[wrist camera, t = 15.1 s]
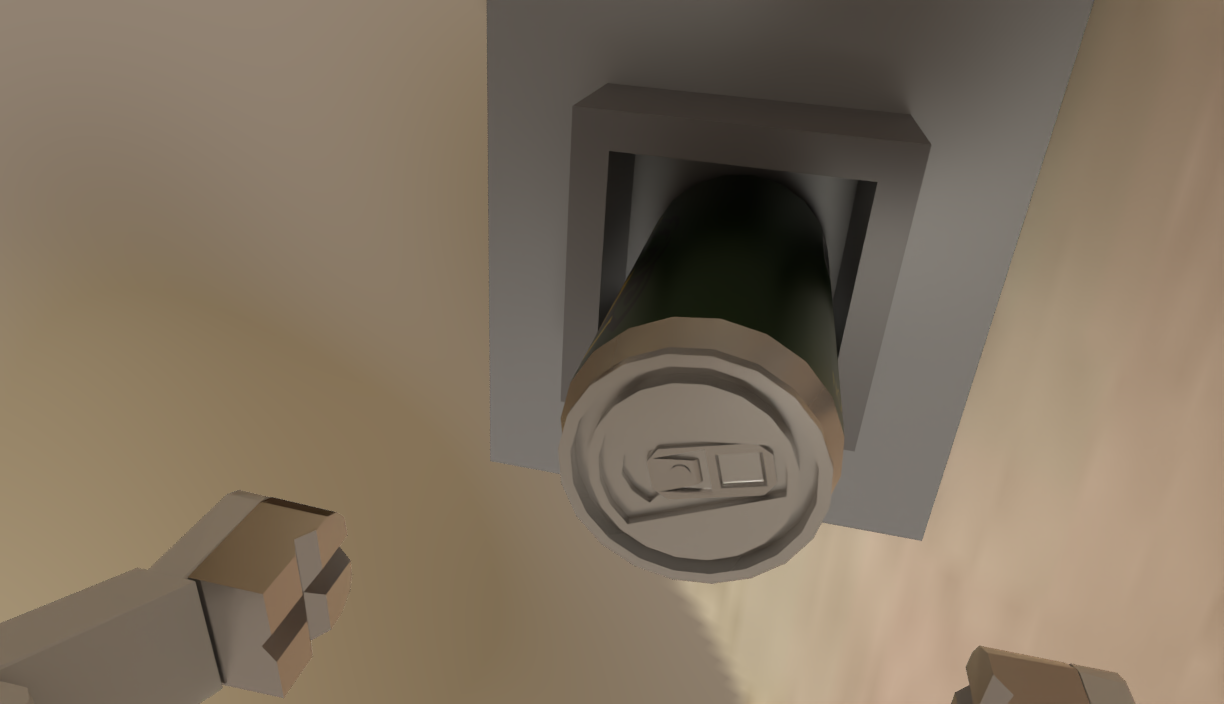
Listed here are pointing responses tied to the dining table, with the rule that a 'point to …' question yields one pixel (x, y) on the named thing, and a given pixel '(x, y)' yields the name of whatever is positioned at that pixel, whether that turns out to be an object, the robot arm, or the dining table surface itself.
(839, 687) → the dining table surface
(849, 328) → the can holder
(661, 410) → the beer can
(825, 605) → the dining table surface
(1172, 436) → the dining table surface
